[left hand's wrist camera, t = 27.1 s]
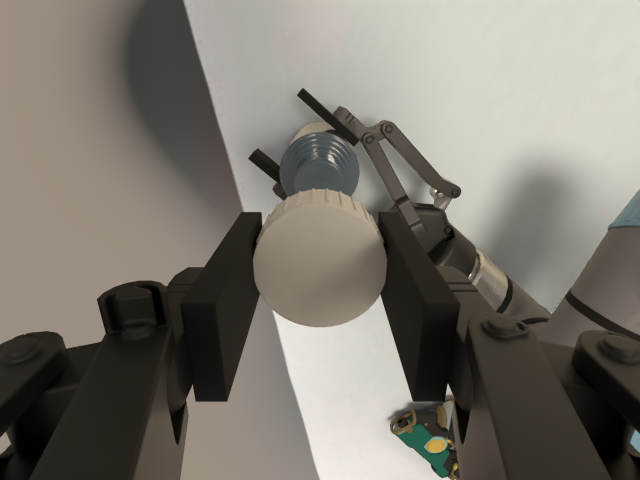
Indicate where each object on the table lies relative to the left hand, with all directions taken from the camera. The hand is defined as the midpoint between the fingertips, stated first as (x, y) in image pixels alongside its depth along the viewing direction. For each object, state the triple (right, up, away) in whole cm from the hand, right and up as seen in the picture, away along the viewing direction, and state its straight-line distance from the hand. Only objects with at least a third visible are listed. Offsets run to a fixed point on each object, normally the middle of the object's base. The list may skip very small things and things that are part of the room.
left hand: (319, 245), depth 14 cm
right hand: (-4, +11, +18) cm, 22 cm away
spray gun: (+20, -29, +42) cm, 55 cm away
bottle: (0, +10, +26) cm, 28 cm away
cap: (0, -1, -2) cm, 2 cm away
